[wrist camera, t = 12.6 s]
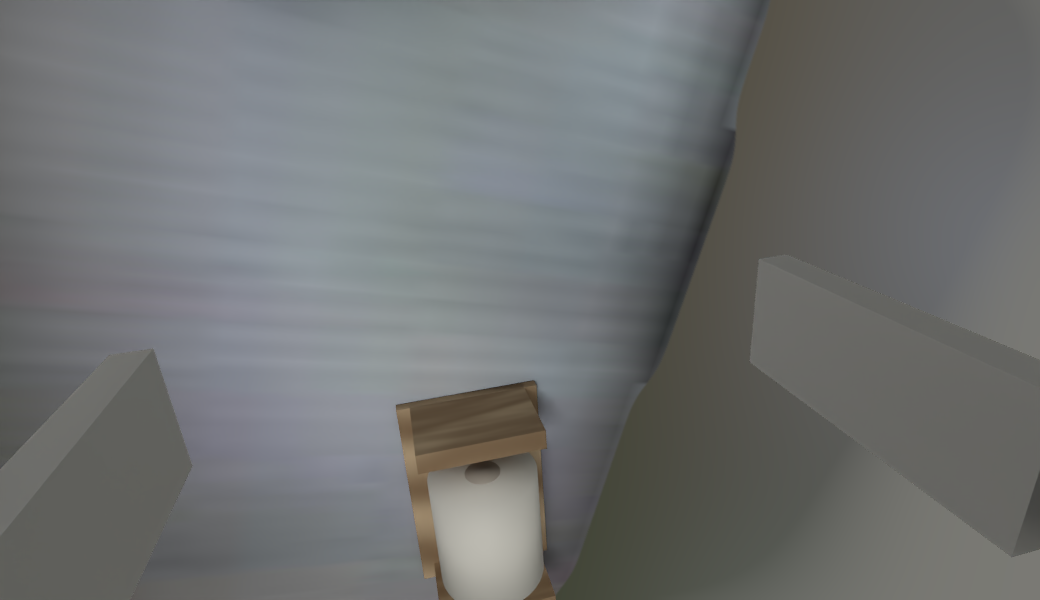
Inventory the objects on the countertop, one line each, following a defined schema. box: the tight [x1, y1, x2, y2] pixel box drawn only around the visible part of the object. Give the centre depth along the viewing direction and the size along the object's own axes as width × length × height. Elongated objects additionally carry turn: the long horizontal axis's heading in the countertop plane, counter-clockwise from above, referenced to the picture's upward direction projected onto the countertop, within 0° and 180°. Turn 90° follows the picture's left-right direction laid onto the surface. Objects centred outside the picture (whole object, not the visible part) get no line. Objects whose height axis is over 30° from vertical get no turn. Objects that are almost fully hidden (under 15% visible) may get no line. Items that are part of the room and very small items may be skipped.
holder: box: [396, 381, 556, 600], centre depth 46 cm, size 17×11×7 cm, turn 4°
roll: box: [427, 452, 544, 600], centre depth 44 cm, size 9×8×8 cm
